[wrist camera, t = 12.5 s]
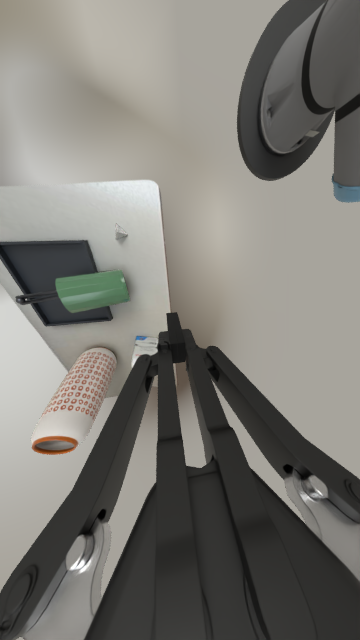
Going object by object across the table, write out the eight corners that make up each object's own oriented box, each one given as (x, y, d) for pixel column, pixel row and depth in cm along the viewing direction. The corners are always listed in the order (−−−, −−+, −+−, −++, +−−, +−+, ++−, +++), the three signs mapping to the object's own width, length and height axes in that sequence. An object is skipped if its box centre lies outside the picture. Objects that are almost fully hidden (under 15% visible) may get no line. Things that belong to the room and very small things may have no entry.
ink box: (135, 344, 52) (130, 368, 42) (136, 335, 50) (131, 357, 40) (156, 346, 55) (156, 369, 45) (158, 337, 52) (158, 359, 42)
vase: (103, 337, 49) (50, 428, 25) (126, 358, 55) (101, 445, 31) (75, 351, 50) (-2, 450, 26) (100, 370, 57) (58, 462, 33)
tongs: (101, 276, 44) (12, 296, 31) (117, 280, 37) (12, 307, 24) (104, 283, 45) (19, 305, 32) (119, 288, 38) (20, 317, 25)
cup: (119, 263, 35) (57, 270, 31) (125, 282, 31) (53, 293, 26) (126, 288, 42) (76, 297, 38) (132, 307, 38) (76, 320, 33)
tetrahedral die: (127, 241, 36) (128, 242, 33) (115, 239, 34) (116, 239, 32) (127, 226, 34) (129, 226, 32) (115, 223, 32) (116, 223, 30)
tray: (-2, 242, 31) (-11, 242, 29) (87, 240, 33) (83, 240, 32) (49, 323, 43) (45, 326, 41) (112, 317, 45) (111, 320, 43)
